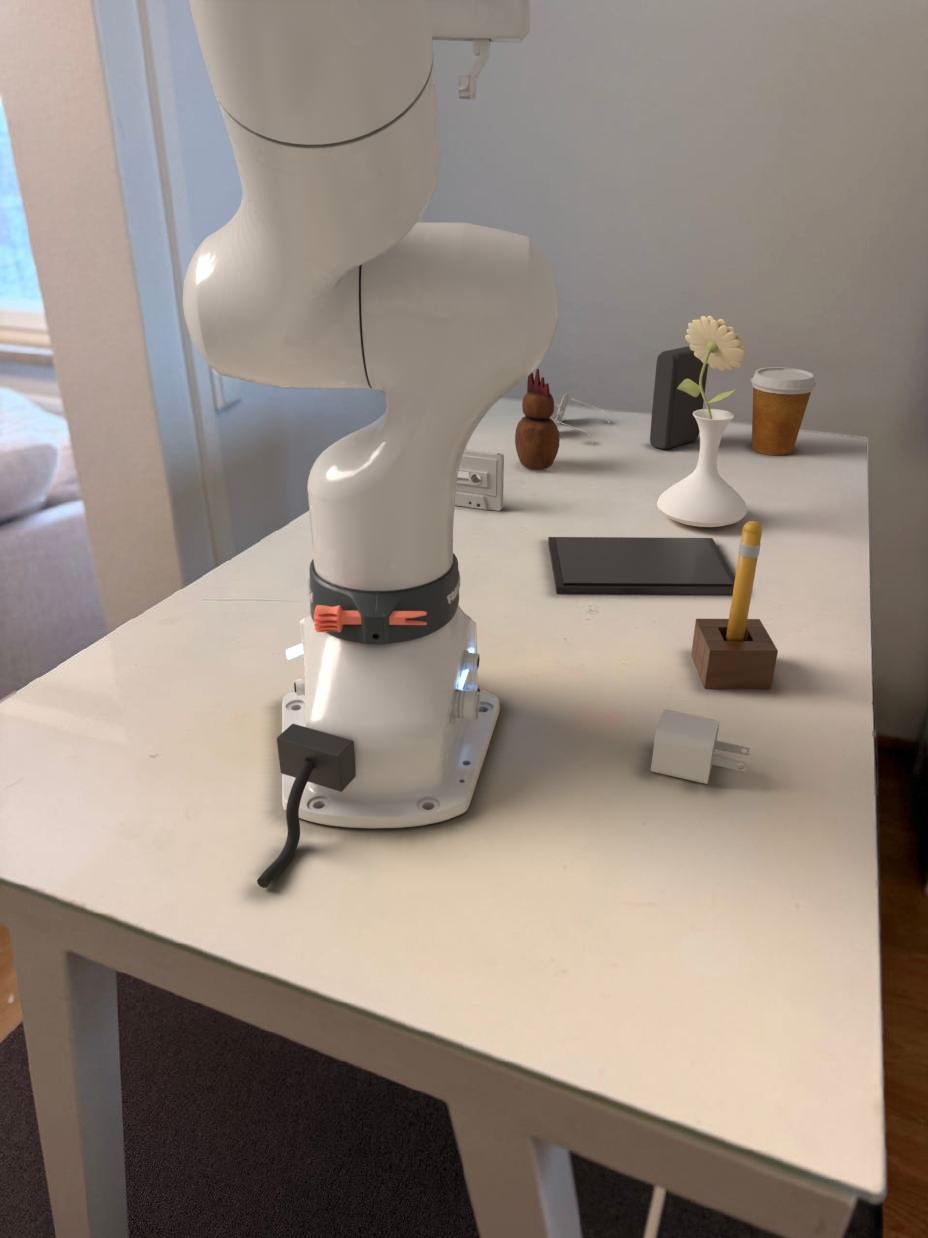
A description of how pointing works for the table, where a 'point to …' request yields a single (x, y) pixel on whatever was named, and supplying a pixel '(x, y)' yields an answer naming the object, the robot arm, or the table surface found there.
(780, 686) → the table surface
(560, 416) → the clear eyeglasses
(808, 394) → the disposable coffee cup
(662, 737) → the usb wall charger
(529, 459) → the wooden figurine
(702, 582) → the tablet
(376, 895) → the table surface
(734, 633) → the stylus
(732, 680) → the pen holder
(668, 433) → the card reader
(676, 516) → the flower in vase
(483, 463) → the cassette
